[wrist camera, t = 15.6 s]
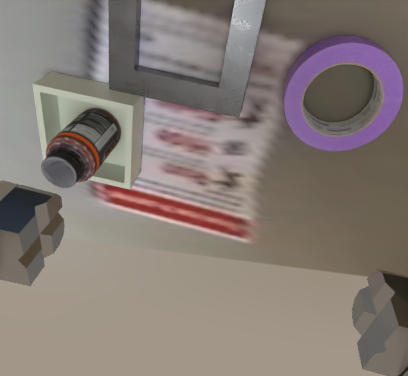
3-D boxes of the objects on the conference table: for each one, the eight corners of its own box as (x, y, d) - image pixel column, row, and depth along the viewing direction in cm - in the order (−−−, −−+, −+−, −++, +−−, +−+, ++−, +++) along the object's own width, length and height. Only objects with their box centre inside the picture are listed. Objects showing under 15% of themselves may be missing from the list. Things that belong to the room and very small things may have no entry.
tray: (145, 91, 44) (132, 105, 40) (140, 171, 51) (130, 189, 47) (52, 71, 44) (32, 83, 41) (61, 153, 51) (44, 169, 48)
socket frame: (275, -42, 34) (275, -42, 32) (240, 112, 43) (239, 117, 42) (113, -74, 34) (108, -74, 33) (113, 85, 44) (109, 89, 43)
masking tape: (281, 42, 38) (281, 51, 35) (401, 26, 35) (412, 35, 32) (285, 139, 44) (286, 155, 41) (387, 132, 42) (395, 148, 39)
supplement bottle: (107, 155, 49) (68, 205, 40) (71, 127, 48) (22, 172, 39) (131, 128, 46) (94, 175, 37) (93, 97, 44) (45, 138, 35)
